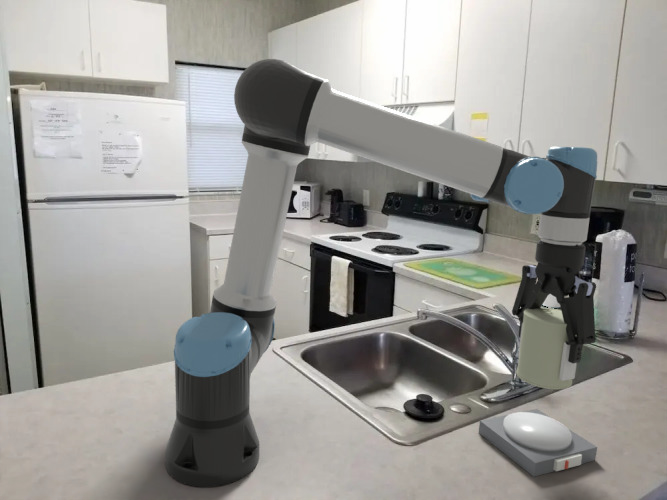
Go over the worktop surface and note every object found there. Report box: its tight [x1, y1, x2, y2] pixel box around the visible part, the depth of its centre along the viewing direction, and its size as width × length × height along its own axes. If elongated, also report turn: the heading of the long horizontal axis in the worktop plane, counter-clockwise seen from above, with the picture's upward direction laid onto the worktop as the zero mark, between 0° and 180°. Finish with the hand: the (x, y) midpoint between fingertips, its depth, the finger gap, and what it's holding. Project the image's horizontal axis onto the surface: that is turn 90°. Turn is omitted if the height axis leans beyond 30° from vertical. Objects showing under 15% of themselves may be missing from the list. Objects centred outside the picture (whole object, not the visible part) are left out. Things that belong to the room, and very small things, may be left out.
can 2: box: [515, 306, 573, 390], centre depth 89 cm, size 9×9×12 cm
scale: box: [478, 408, 598, 477], centre depth 92 cm, size 14×15×4 cm
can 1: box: [542, 294, 561, 309], centre depth 180 cm, size 7×7×12 cm
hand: (544, 367), depth 90 cm, fingers closed on can 2, 9 cm apart
